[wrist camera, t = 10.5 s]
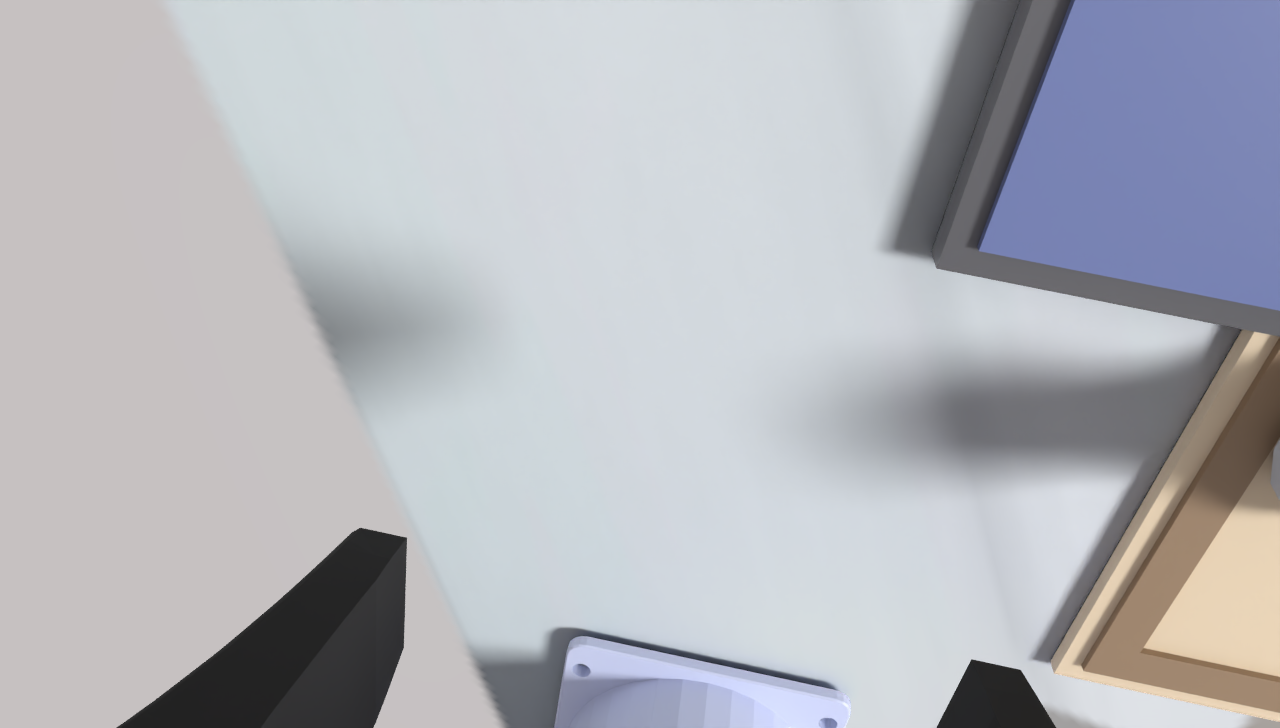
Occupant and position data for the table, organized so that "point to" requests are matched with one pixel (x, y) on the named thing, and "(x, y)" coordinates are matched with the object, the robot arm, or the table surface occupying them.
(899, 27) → the table surface
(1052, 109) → the ink pad
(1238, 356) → the mat
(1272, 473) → the rook chess piece
